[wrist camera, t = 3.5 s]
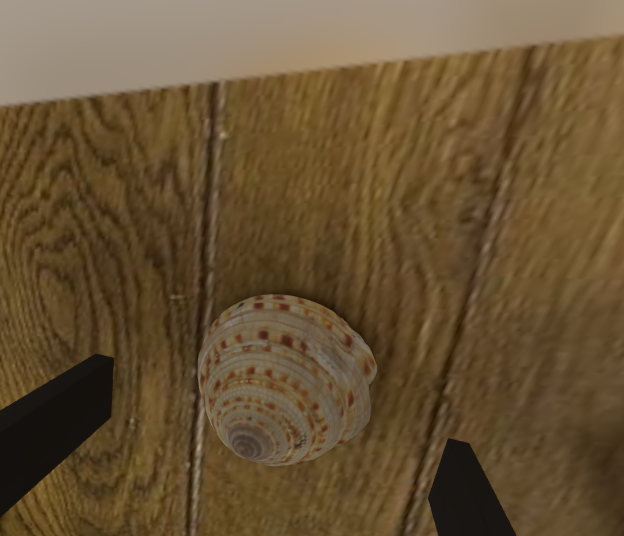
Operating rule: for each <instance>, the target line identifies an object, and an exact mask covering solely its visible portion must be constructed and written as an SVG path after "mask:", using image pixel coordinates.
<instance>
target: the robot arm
mask: <svg viewBox="0 0 624 536" xmlns="http://www.w3.org/2000/svg"><path fill="white" fill-rule="evenodd" d="M113 367H114V358H113V357H108V356H104V355H100V354H94V355H93V356H91V357H89V358H88V359H86V360H84V361H83V362H81V363H79V364H78V365H76V366H74V367H72V368H71V369H69V370H67V371H66V372H64V373H62V374H61V375H59V376H57V377H56V378H54V379H52V380H51V381H49V382H47V383H46V384H44V385H42V386H41V387H39V388H37V389H36V390H34V391H32V392H31V393H29V394H27V395H25V396H24V397H22V398H20V399H19V400H17V401H15V402H14V403H12V404H10V405H9V406H7V407H5V408H4V409H2V410H0V517H1V516H2V515H3V514H4V513H6V512H7V511H8V510H9V509H10V508H11V507H12V506H13V505H14V504H16V503H17V502H18V501H19V500H20V499H21V498H22V497H23V496H24V495H26V494H27V493H28V492H29V491H30V490H31V489H32V488H33V487H34V486H35V485H37V484H38V483H39V482H40V481H41V480H42V479H43V478H44V477H45V476H47V475H48V474H49V473H50V472H51V471H52V470H53V469H54V468H55V467H56V466H58V465H59V464H60V463H61V462H62V461H63V460H64V459H65V458H66V457H68V456H69V455H70V454H71V453H72V452H73V451H74V450H75V449H76V448H78V447H79V446H80V445H81V444H82V443H83V442H84V441H85V440H86V439H87V438H89V437H90V436H91V435H92V434H93V433H94V432H95V431H96V430H97V429H99V428H100V427H101V426H102V425H103V424H104V423H105V422H106V421H107V420H108V419H110V418H111V407H112V387H113ZM428 500H429V503H430V507H431V511H432V514H433V518H434V522H435V525H436V529H437V532H438V536H516V534H515V532H514V530H513V528H512V526H511V524H510V522H509V520H508V518H507V516H506V514H505V512H504V510H503V508H502V506H501V504H500V502H499V500H498V498H497V497H496V495H495V493H494V491H493V489H492V487H491V485H490V483H489V481H488V479H487V477H486V475H485V473H484V471H483V469H482V467H481V465H480V463H479V461H478V459H477V457H476V455H475V453H474V451H473V450H472V448H471V446H470V444H469V443H466V442H462V441H458V440H454V439H449V438H448V440H447V443H446V446H445V449H444V452H443V455H442V458H441V461H440V464H439V467H438V470H437V473H436V476H435V479H434V482H433V485H432V488H431V491H430V494H429V497H428Z"/></svg>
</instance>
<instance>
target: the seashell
mask: <svg viewBox="0 0 624 536" xmlns="http://www.w3.org/2000/svg"><path fill="white" fill-rule="evenodd" d="M345 324H346V325H345ZM197 372H198V381H199V389H200V392H201V396H202V400H203V403H204V405H205V409H206V412H207V416H208V418H209V421H210V423H211V425H212V427H213V429H214V430H215V432H216V434H217V435H218V437H219V438H220V439H221V440H222V441H223V443H224V444H225V445H226V446H227V447H228V448H229V449H230V450H231V451H232V452H233V453H235V454H236V455H238V456H240V457H242V458H244V459H246V460H248V461H253V462H255V463H259V464H262V465H268V466H282V465H291V464H299V463H302V462H305V461H308V460H313V459H315V458H317V457H319V456H321V455H323V454H324V453H325V452H326V451H328V450H330V449H331V448H332V447H333V448H334V447H338V446H341V445H343V444H344V443H345V442H347V441H349V440H350V439H352V438H353V437H354V436H355V435H356V434H358V433H359V432H360V431H361V430H362V429H363V428H364V427H365V426H366V425H367V424H368V422H369V420H370V415H371V404H370V392H369V385H370V383H371V382H372V380H373V379H374V377H375V375H376V373H377V364H376V362H375V359H374V357H373V354H372V352H371V349H370V348H369V346H368V345H367V344H365V343H364V340H363V339H362V337H361V336H360V335H359V334H358V333H356V332H355V331H353V330H352V329H351V328H350V327H349V326H348V324H347V322H346V321H344V320H343V318H339V317H338V316H337V315H336V314H335V313H334V312H333V311H331V310H329V309H328V308H326V307H324V306H322V305H320V304H318V303H315V302H312V301H309V300H306V299H303V298H299V297H295V296H289V295H274V294H269V295H260V296H255V297H250V298H248V299H245V300H243V301H241V302H238V303H236V304H234V305H233V306H231V307H229V308H228V309H226V310H225V311H224V312H222V313H221V314H220V315H219V317H218V318H217V319H216V320H215V321H214V322H213V324H212V325H211V326H210V328H209V330H208V332H207V334H206V337H205V339H204V342H203V344H202V347H201V350H200V353H199V358H198V369H197Z"/></svg>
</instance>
